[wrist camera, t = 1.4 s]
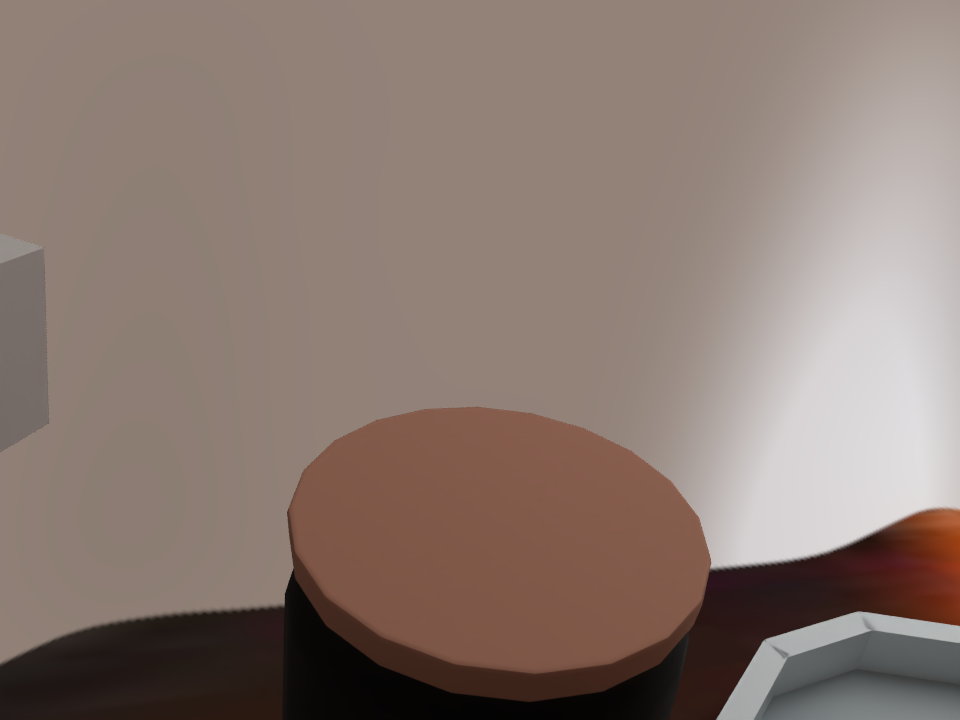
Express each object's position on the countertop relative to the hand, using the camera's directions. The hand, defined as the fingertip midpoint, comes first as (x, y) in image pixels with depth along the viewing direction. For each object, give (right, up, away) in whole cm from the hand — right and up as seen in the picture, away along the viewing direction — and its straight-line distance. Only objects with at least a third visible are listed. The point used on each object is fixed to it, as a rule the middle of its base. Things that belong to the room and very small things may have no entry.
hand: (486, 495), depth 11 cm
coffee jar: (-2, -18, +20) cm, 27 cm away
